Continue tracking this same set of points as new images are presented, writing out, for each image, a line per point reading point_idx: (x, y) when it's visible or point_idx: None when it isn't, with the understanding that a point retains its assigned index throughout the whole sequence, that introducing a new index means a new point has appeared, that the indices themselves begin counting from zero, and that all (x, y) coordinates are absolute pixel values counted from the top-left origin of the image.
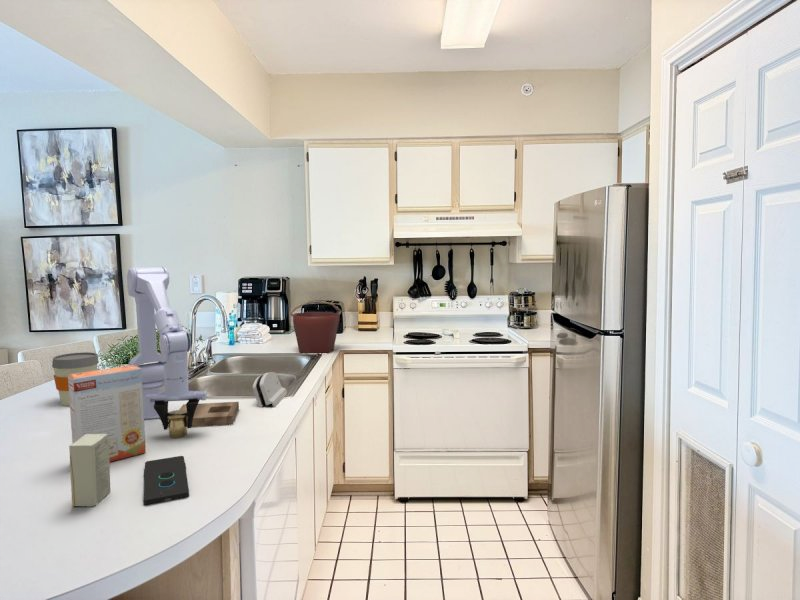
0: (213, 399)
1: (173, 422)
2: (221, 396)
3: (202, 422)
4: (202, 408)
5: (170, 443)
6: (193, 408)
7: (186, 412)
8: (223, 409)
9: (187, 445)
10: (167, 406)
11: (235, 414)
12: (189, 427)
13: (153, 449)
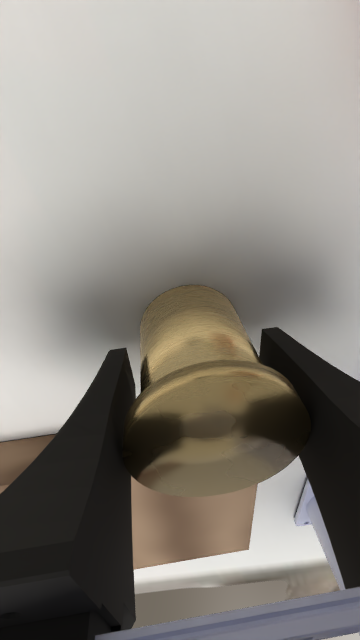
0: (177, 576)
1: (222, 349)
2: (162, 588)
3: None
4: (157, 535)
5: (194, 192)
6: (5, 499)
7: (142, 463)
8: None
9: (40, 130)
10: (327, 514)
11: None
12: (112, 351)
13: (293, 53)
